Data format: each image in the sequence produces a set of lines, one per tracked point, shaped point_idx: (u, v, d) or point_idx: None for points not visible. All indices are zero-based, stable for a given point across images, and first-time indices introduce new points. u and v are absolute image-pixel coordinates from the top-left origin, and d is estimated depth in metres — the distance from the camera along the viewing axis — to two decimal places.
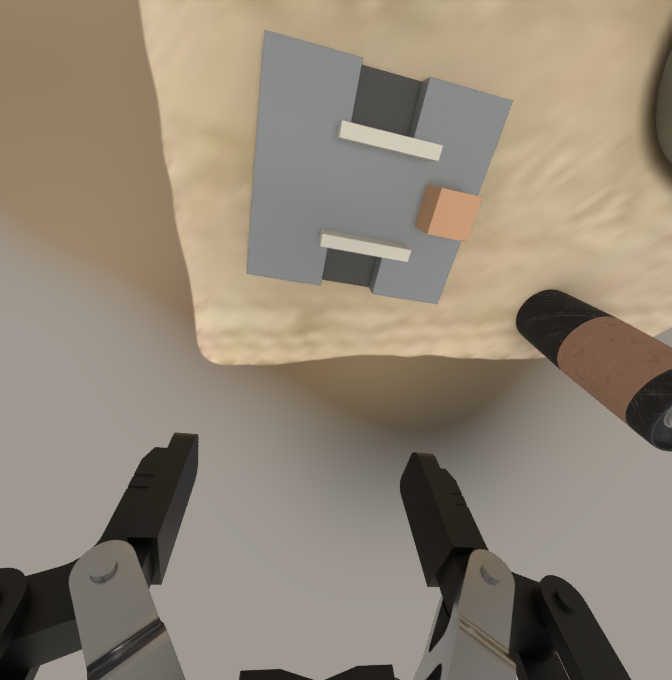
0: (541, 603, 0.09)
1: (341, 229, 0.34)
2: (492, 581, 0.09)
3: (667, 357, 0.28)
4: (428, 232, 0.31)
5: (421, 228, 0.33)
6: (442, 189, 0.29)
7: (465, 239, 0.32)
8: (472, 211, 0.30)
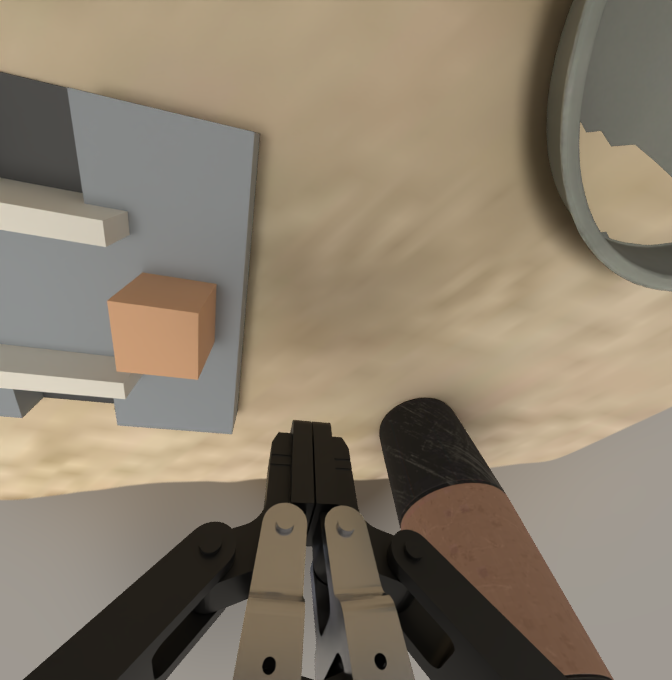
0: (398, 570, 0.09)
1: (16, 341, 0.20)
2: (343, 533, 0.09)
3: None
4: (118, 368, 0.17)
5: None
6: (109, 302, 0.15)
7: (194, 376, 0.18)
8: (187, 335, 0.16)
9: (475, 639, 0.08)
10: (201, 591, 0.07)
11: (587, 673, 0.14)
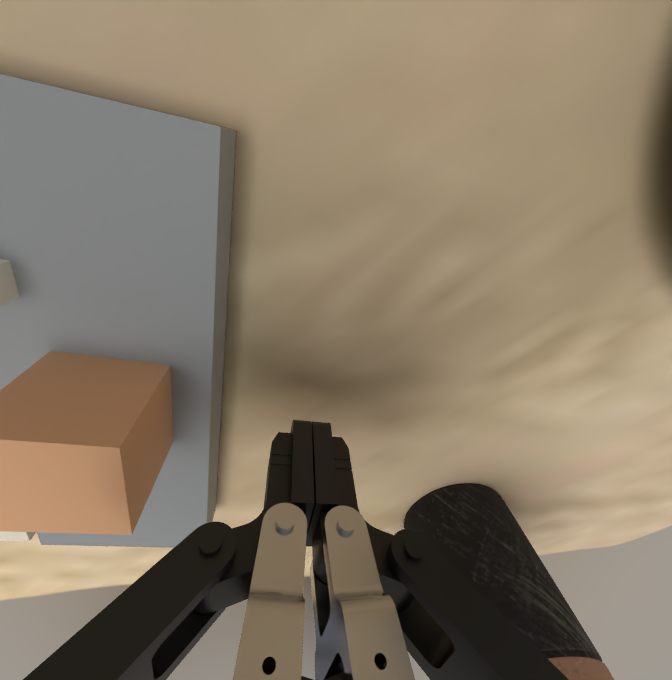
0: (398, 570, 0.09)
1: None
2: (342, 533, 0.09)
3: None
4: None
5: None
6: None
7: (125, 531, 0.11)
8: (104, 479, 0.09)
9: (475, 639, 0.08)
10: (201, 592, 0.07)
11: None
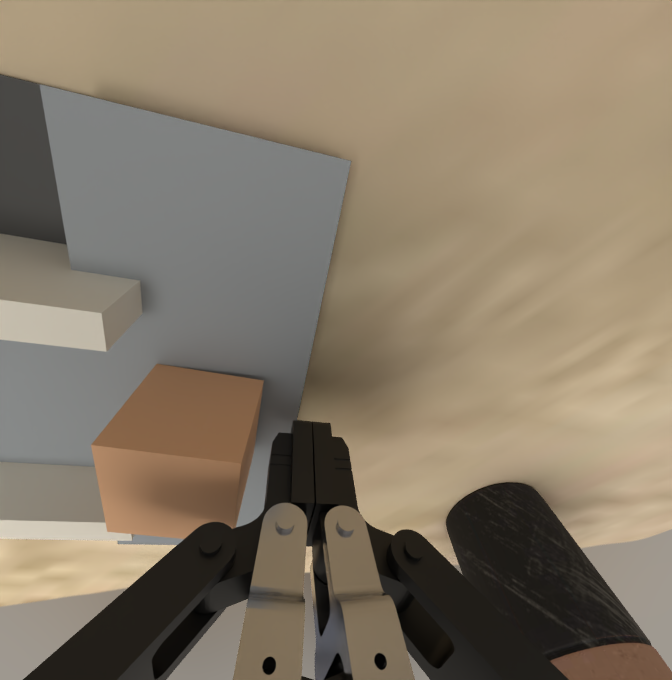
0: (398, 570, 0.09)
1: None
2: (342, 533, 0.09)
3: None
4: (110, 527, 0.11)
5: None
6: (94, 447, 0.09)
7: None
8: (220, 491, 0.10)
9: (475, 639, 0.08)
10: (201, 591, 0.07)
11: None
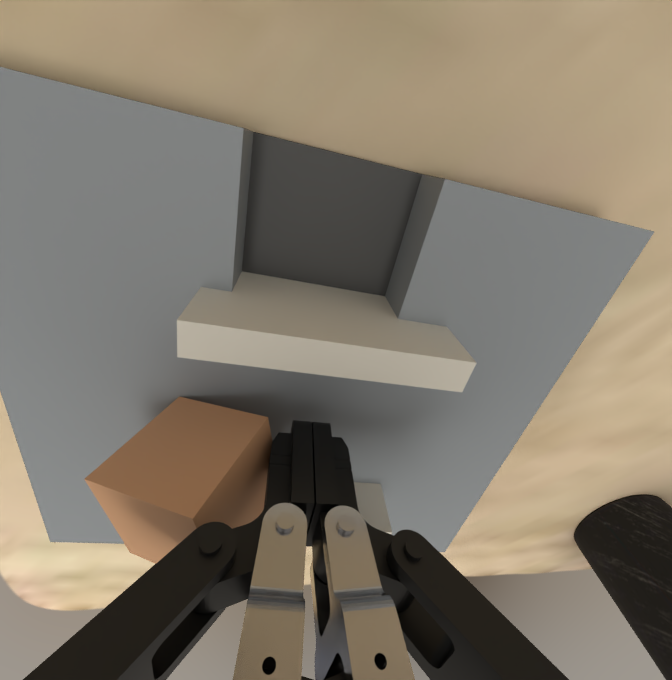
0: (398, 570, 0.09)
1: None
2: (343, 532, 0.09)
3: None
4: (131, 549, 0.12)
5: None
6: (87, 481, 0.10)
7: None
8: None
9: (475, 639, 0.08)
10: (202, 591, 0.07)
11: None
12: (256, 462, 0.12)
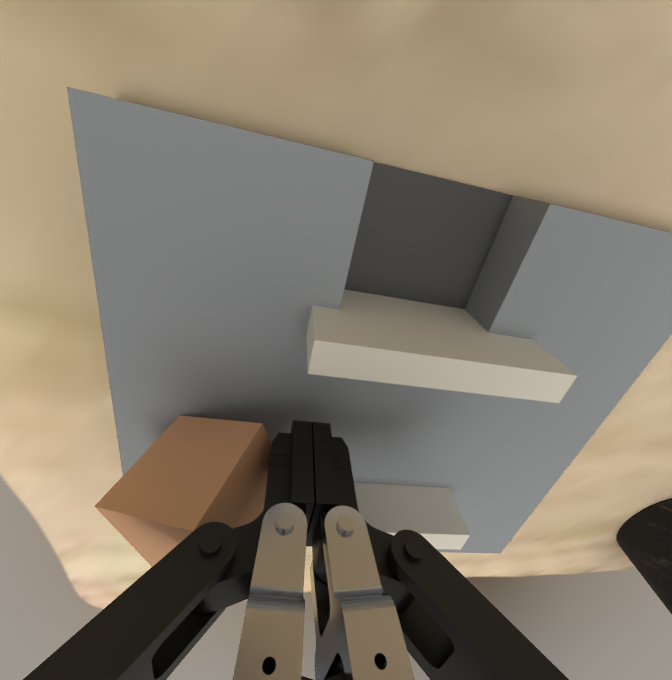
0: (398, 570, 0.09)
1: None
2: (343, 533, 0.09)
3: None
4: None
5: None
6: (98, 508, 0.11)
7: None
8: None
9: (475, 639, 0.08)
10: (201, 591, 0.07)
11: None
12: (257, 468, 0.12)
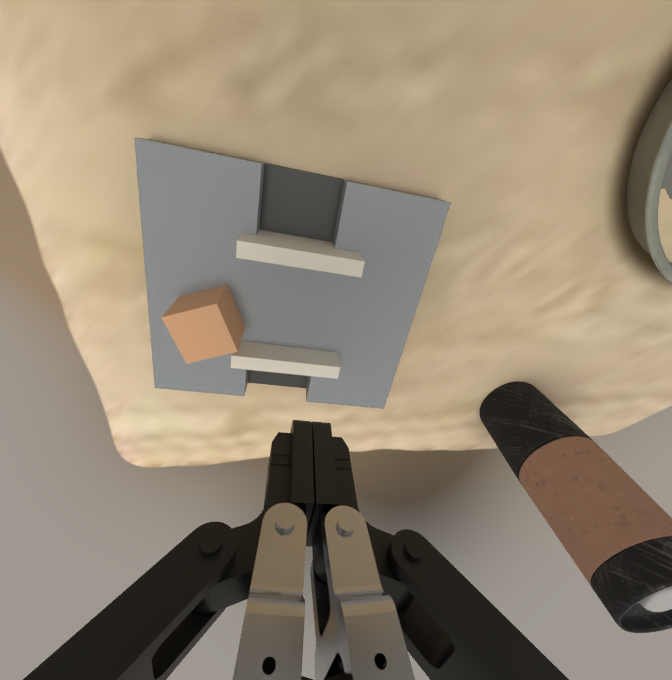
0: (398, 570, 0.09)
1: (260, 340, 0.29)
2: (343, 533, 0.09)
3: (638, 520, 0.23)
4: (186, 361, 0.25)
5: None
6: (162, 318, 0.23)
7: (234, 349, 0.25)
8: (216, 322, 0.24)
9: (475, 639, 0.08)
10: (201, 592, 0.07)
11: None
12: (230, 302, 0.26)
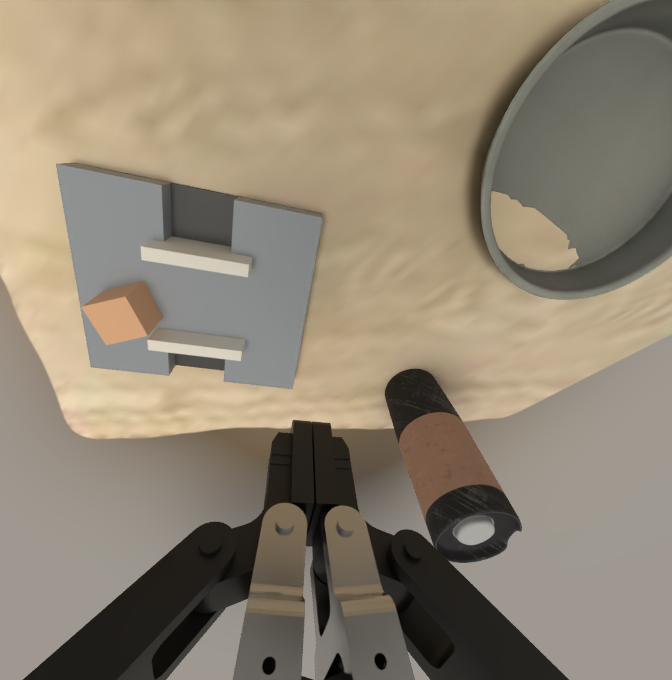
0: (398, 570, 0.09)
1: (177, 328, 0.35)
2: (343, 532, 0.09)
3: (459, 473, 0.29)
4: (106, 343, 0.31)
5: None
6: (82, 307, 0.29)
7: (145, 334, 0.31)
8: (127, 311, 0.29)
9: (475, 639, 0.08)
10: (202, 591, 0.07)
11: (488, 485, 0.28)
12: (145, 295, 0.32)
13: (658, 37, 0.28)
